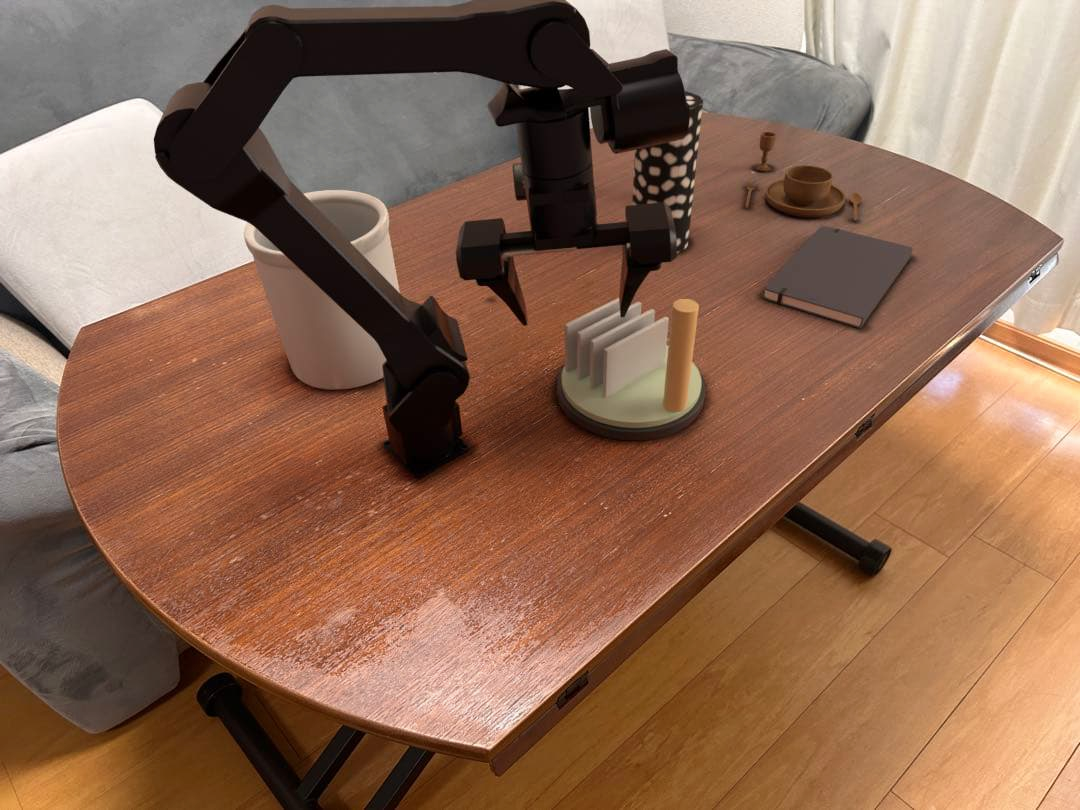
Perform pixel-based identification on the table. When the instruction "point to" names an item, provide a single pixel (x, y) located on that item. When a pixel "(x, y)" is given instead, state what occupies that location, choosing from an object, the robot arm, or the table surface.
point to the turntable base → (629, 433)
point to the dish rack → (632, 365)
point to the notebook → (838, 275)
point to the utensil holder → (326, 296)
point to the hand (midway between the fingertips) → (573, 318)
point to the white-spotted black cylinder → (671, 173)
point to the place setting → (801, 188)
